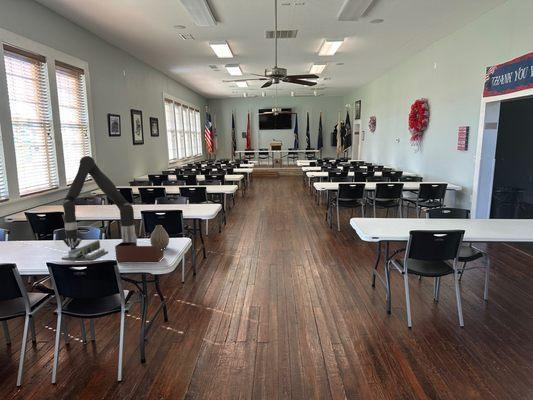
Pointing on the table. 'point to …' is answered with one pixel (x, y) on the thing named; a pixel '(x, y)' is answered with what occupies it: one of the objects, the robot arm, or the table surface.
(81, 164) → the robot arm
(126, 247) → the desk organizer
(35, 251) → the table surface
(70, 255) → the sliding jaw
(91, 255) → the vise bed
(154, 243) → the vase
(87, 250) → the handheld radio
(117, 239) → the table surface
